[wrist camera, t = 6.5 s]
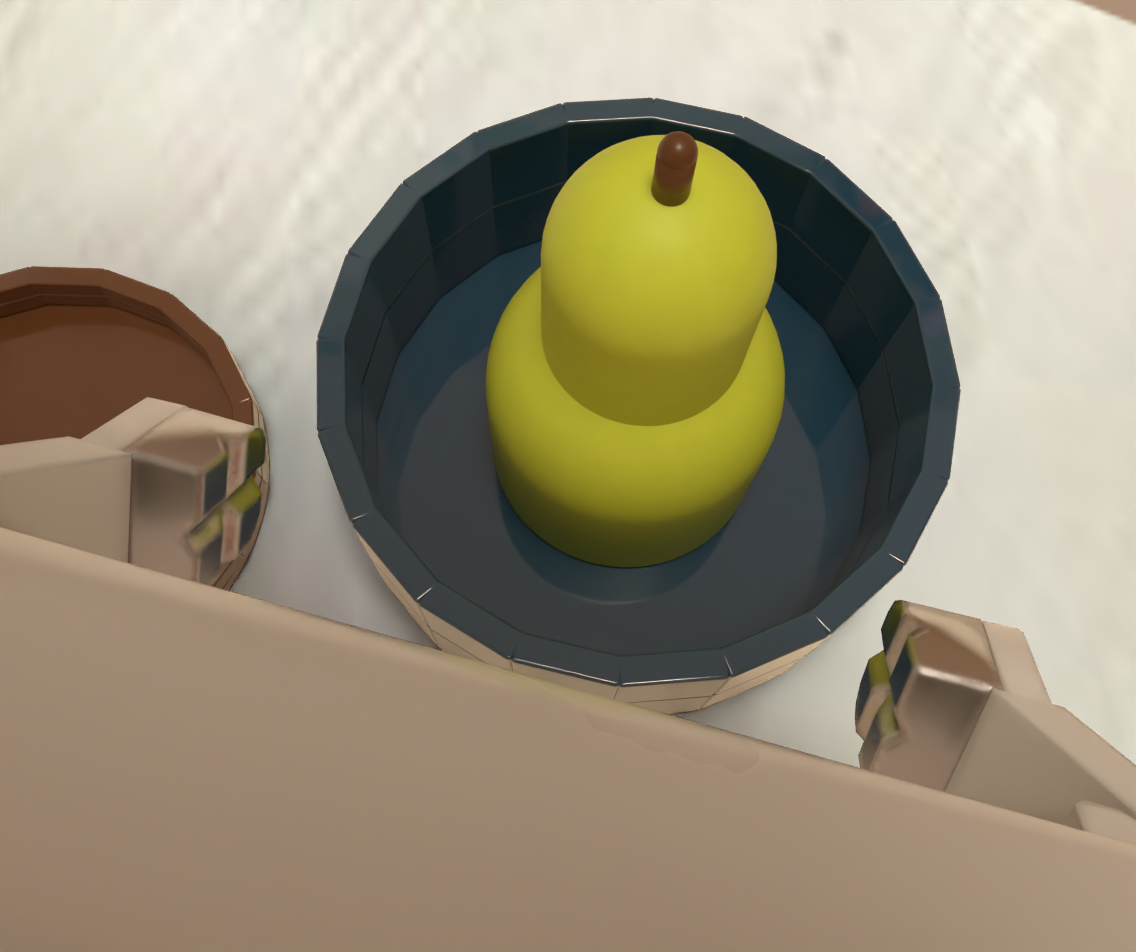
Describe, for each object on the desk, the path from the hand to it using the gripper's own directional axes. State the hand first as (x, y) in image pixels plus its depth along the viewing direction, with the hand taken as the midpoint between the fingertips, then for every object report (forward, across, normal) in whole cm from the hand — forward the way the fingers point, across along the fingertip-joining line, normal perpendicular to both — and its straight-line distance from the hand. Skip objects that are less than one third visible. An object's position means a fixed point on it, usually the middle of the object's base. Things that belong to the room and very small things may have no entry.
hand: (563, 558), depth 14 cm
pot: (+13, 0, +4) cm, 14 cm away
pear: (+13, 0, +4) cm, 13 cm away
